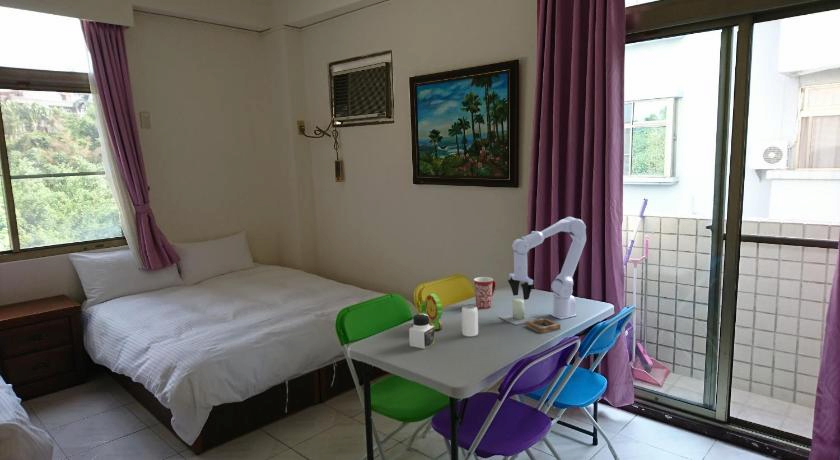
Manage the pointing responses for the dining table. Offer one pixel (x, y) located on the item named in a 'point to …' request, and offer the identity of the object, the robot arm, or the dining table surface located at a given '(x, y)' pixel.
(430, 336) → the medicine bottle
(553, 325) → the frame
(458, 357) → the dining table surface
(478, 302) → the mug
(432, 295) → the toy lion
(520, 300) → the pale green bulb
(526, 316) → the mat
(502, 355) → the dining table surface
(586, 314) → the dining table surface
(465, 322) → the can
